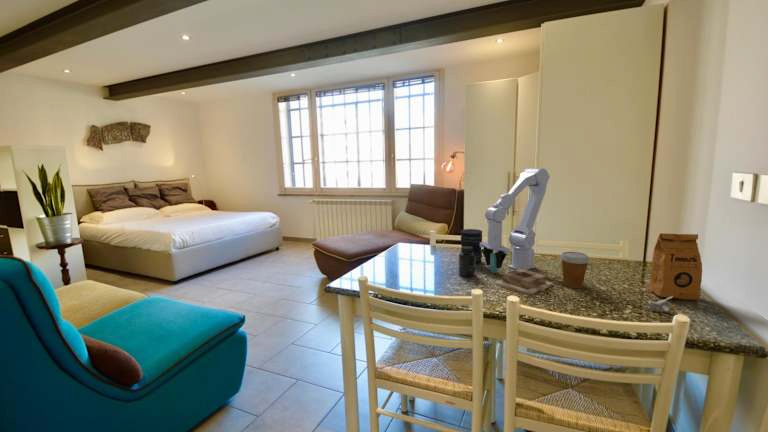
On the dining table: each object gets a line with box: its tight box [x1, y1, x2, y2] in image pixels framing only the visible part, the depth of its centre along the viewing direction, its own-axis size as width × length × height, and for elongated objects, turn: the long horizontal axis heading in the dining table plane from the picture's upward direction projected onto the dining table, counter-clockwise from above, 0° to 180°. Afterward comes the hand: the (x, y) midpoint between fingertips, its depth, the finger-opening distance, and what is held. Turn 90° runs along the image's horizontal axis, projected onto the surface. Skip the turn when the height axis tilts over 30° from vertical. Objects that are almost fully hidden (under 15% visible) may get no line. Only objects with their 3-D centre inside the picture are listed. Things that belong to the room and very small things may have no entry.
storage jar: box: [460, 228, 483, 266], centre depth 160 cm, size 10×10×15 cm
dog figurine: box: [647, 296, 674, 313], centre depth 105 cm, size 3×8×6 cm
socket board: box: [494, 269, 554, 296], centre depth 130 cm, size 16×14×4 cm
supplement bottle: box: [458, 246, 476, 278], centre depth 142 cm, size 7×7×12 cm
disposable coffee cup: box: [559, 251, 590, 289], centre depth 127 cm, size 10×10×12 cm
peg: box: [489, 252, 499, 274], centre depth 146 cm, size 3×3×8 cm
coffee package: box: [648, 232, 703, 301], centre depth 115 cm, size 10×12×22 cm
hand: (493, 266), depth 146 cm, fingers open, 5 cm apart
